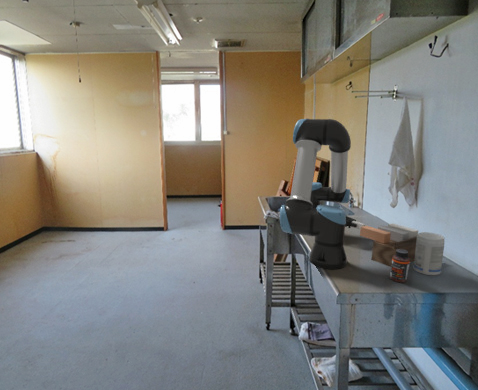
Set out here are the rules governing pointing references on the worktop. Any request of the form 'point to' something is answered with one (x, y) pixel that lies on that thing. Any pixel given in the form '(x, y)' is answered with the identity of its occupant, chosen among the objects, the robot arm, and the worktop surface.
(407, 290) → the worktop surface
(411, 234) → the off-white bar
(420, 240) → the supplement tub
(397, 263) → the supplement bottle
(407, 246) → the walnut key block
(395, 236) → the gray bar
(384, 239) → the orange rectangular bar
